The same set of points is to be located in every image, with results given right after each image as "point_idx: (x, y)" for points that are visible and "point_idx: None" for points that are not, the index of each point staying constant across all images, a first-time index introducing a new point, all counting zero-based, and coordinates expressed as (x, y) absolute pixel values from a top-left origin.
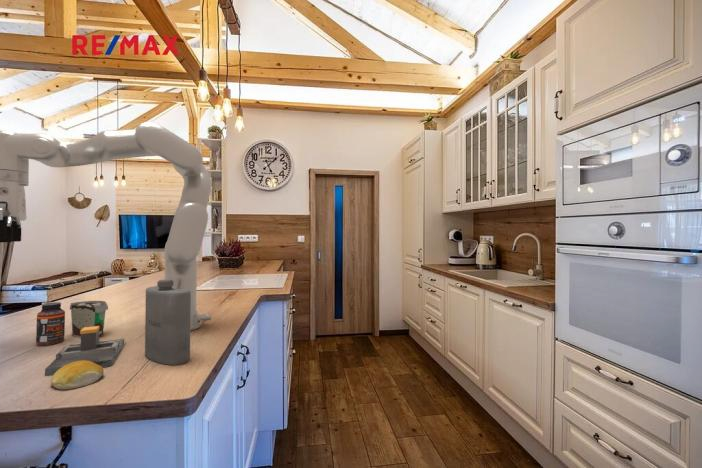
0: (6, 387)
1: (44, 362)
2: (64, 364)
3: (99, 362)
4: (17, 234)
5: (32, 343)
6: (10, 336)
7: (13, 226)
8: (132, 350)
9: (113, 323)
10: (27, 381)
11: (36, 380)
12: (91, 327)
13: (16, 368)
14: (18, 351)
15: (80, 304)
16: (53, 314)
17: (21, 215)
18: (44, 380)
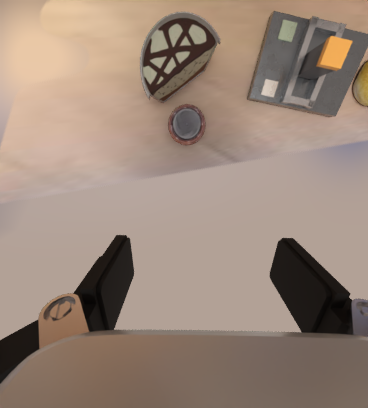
0: (333, 145)
1: (276, 123)
2: (337, 96)
3: (363, 53)
4: (118, 265)
5: (176, 148)
6: (122, 178)
7: (97, 321)
8: (316, 4)
9: (107, 34)
10: (331, 130)
11: (336, 123)
12: (331, 50)
13: (276, 147)
14: (206, 157)
15: (148, 76)
16: (204, 120)
17: (360, 395)
18: (344, 115)
